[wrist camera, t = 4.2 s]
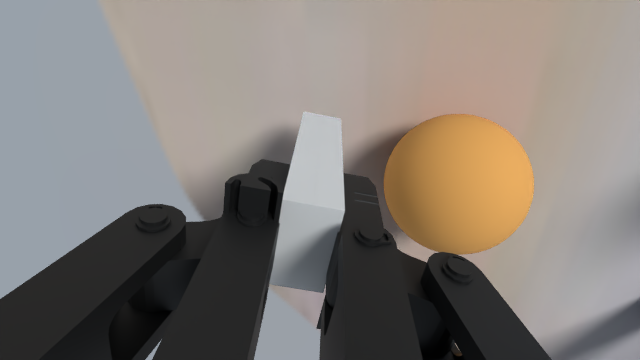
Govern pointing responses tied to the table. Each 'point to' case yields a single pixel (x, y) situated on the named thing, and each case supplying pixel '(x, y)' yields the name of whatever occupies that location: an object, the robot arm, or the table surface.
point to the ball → (458, 184)
